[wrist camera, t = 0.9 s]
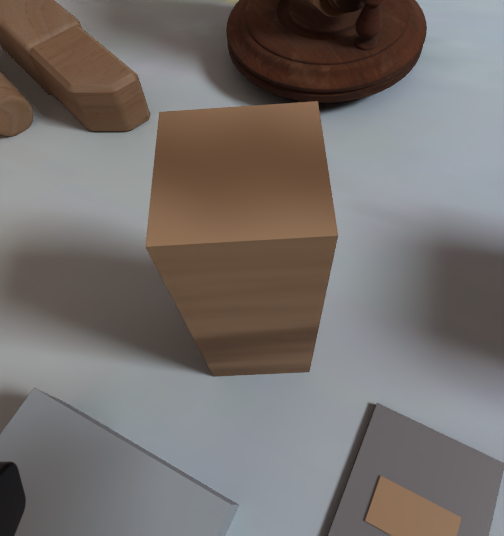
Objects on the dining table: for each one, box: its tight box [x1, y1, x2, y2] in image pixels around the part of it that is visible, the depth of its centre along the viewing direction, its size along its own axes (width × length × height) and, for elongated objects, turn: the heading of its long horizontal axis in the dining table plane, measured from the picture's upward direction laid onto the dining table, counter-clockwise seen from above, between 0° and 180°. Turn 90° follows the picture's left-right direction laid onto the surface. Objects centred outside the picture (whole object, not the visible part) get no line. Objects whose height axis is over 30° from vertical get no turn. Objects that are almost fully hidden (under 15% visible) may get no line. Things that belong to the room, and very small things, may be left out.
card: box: [327, 403, 504, 536], centre depth 19 cm, size 8×6×1 cm
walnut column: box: [146, 101, 338, 376], centre depth 18 cm, size 5×5×13 cm
